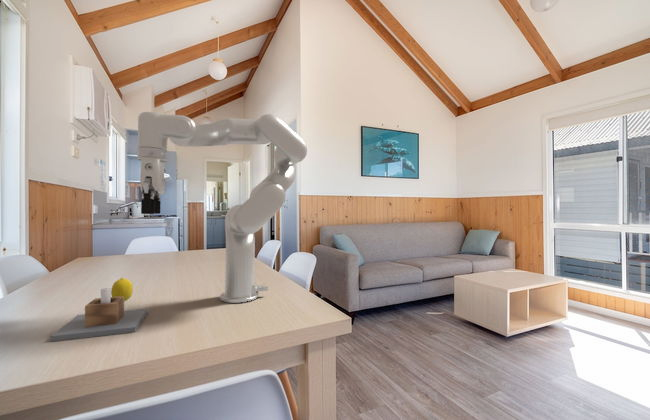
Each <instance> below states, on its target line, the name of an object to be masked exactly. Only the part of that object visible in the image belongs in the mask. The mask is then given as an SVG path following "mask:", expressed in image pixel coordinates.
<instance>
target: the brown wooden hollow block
mask: <svg viewBox="0 0 650 420" xmlns="http://www.w3.org/2000/svg"><path fill="white" fill-rule="evenodd" d="M124 311H125V302H124V296H122V297H112V296H111V300H110V303H101V297H99V298H98V297H97V298H96V297H95V298H94V299H92V300H91V301H89V302H88V303H87V304H86V305H85V306H84V314H85V327H90V326H99V325H109V324H117V323H118V321H119V320H120V319H121V318H122V317H123V315H124Z"/></svg>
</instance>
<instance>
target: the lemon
mask: <svg viewBox="0 0 650 420" xmlns="http://www.w3.org/2000/svg"><path fill="white" fill-rule="evenodd" d="M133 292H134V288H133V283H132V282H131V281H130V280H129V279H127V278H125V277H120V279H117V280H116V281H115V282H114V283H113V284H112V287H111V297H122V296H124V303H125V302H126V301H128V300H129V299H130V298H131V297H132V295H133Z"/></svg>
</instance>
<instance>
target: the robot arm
mask: <svg viewBox="0 0 650 420" xmlns="http://www.w3.org/2000/svg"><path fill="white" fill-rule="evenodd" d="M137 118H138V119H137V161H141V162H140V174H139V175H140V182H139V183H140V184H139V185H140V192H141V193H142V194H141V200H140V201H141V204H140V209H141V210H140V214H142V215H155V214H158V215H159V214H161V203H162V202H161V195H164V194H165V167H164V163H165V164H166V163H167V162H168V139H169V141H170V142H171V143H173V144H174V145H175V146H178V147H185V148H186V147H193V148H194V147H195V148H196V147H198V148H199V147H200V148H201V147H214V146H215V147H217V146H226V145H227V146H228V145H266V144H267V145H268V144H269V143H271V144H273V146H275V149H274V153H273V156H274V157H273V158H274V168H273V170H272V171H270V173H269V174H268V175H267V176H265V178H264V179H263V180H262V181H260V182H259V183H258V184H257V185H256V186H254V187H253V188H252V190H251V191H250V193H249V198H248V199H246V201H245V202H243V203H241V204H236V205H234V206H232V207H231V208H229V210H228V211H227V212H226V213H225V214H226V215H225V218H224V228H225V229H224V231H225V267H224V268H225V269H224V270H225V272H224V274H225V275H224V277H225V278H224V279H225V280H224V292H222V293H221V294H220V295H219V300H220V301H221V302H225V303H230V304H231V303H232V304H237V303H238V304H241V302H242V303H248V302H251V300H252V301H255V300H257V299H258V298H259V292H267V291H268V290H269V286H268V285H267V284H265V285H264V284H256V282H255V260H256V259H255V256H256V255H255V252H256V239H255V233H257V232H259V230H260V229H262V228H263V227H264V226H265V225H266V224H267V223H268V222H269V221H270V220H271V219H272V218H273V217H274V216H275V215H276V214H277V213H278V211H279V210H280V209H282V207H283V206H284V203H285V201H286V192H287V191H288V189H289V188H290V187H291V186H292V185H293V183H294V181H295V179H296V175H297V167H296V164H298V163H300V162H302V161H304V159H305V158H306V157H307V155H308V148H307V144H306V142H304V140H303V139H302V138H301V137H300V136H299V135H298V134H297V133H296V132H295V131H294V130H293V129H292V128H290V127H289V126H288V125H287V124H286V123H285V122H284V121H283V120H282V119H280V118H279V117H277V116H276V115H274V114H270V113H266V114H262V115H261V116H260V117H259V118H258V119H257V118H254V119H253V118H237V117H236V118H235V117H226V118H223V119H220V120H217V121H215V122H210V123H205V124H196V123H195V122H194V120H193V119H191V118H190V117H189V116H185V115H182V114H161V113H158V112H155V111H154V112H152V111H142V112H141V113H139V115H138V117H137ZM257 297H258V298H257ZM256 298H257V299H256ZM254 299H255V300H254ZM247 301H248V302H247Z"/></svg>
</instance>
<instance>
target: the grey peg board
mask: <svg viewBox="0 0 650 420" xmlns="http://www.w3.org/2000/svg"><path fill="white" fill-rule="evenodd" d="M111 290H112V287H105V288H104V287H103V288H101V289H100V298H101V303H110V300H111V297H112V295H111ZM146 315H148V308H140V309H139V308H138V309H128V310H124V315H123V317H122V318H121V319H120V320H119V321H118V323H117V324H109V325H99V326H90V327H85V313H83V314H77V315H75V316H74V317H73V318H72V319H71V320H70V321H68V322H67V323H66V324H65V325H63V326H62V327H60V328H59V329H58V330H56V331H55V332H54V333H52V334H51V335H50V342H57V341H68V340H76V339H85V338H94V337H103V336H111V335H112V336H113V335H121V334H128V333H136V331H137V330H138V328H139V327H140V325H141V323H142V322H143V320H144V319H145V317H146Z"/></svg>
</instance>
